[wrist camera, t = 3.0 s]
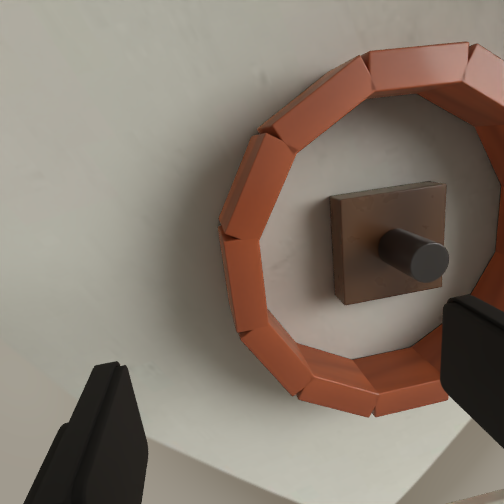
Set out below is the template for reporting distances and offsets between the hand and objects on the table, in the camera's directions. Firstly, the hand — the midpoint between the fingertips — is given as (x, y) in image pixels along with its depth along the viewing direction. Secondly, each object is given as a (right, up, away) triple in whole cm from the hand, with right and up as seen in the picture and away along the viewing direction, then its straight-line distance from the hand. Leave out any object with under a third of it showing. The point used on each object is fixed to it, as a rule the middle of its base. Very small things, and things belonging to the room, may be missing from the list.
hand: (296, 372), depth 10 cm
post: (+6, +4, +11) cm, 13 cm away
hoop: (+6, +4, +11) cm, 13 cm away
